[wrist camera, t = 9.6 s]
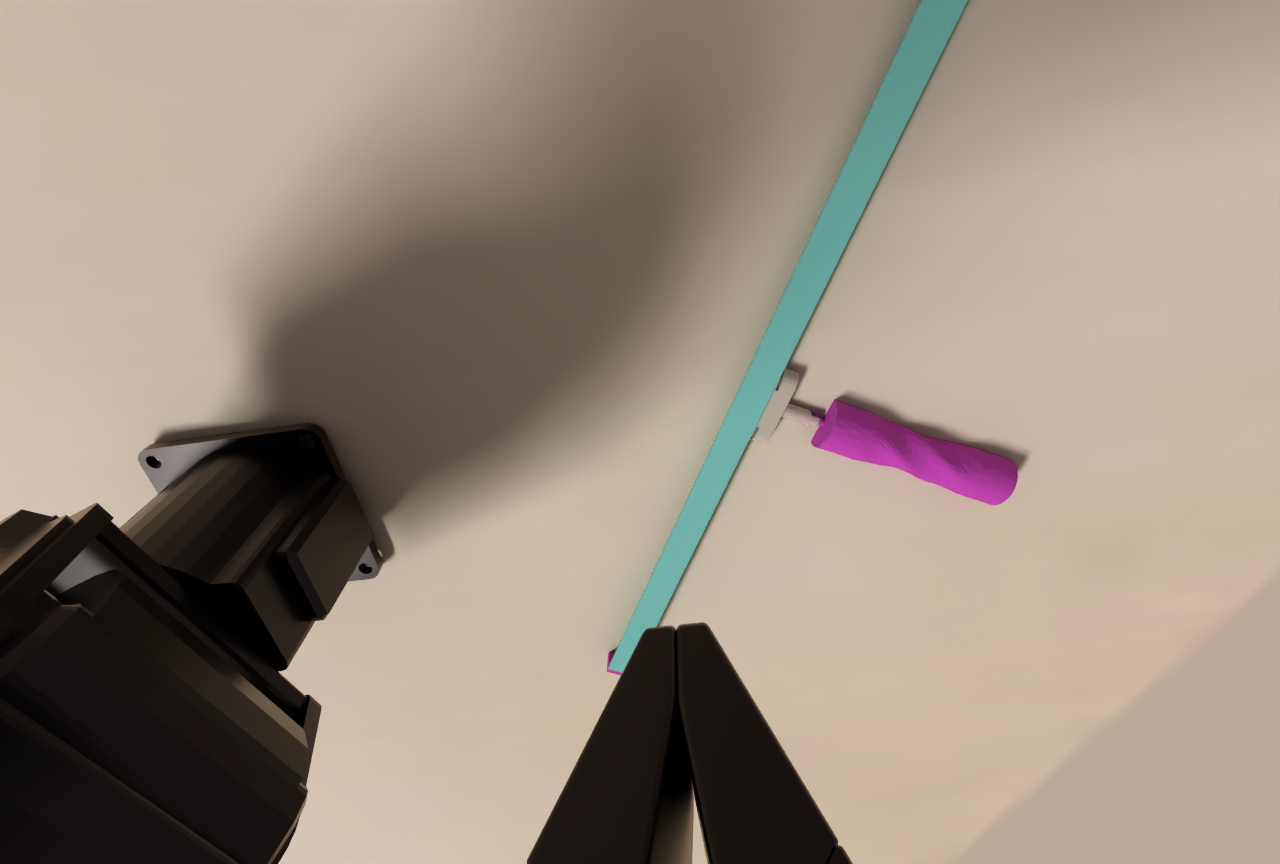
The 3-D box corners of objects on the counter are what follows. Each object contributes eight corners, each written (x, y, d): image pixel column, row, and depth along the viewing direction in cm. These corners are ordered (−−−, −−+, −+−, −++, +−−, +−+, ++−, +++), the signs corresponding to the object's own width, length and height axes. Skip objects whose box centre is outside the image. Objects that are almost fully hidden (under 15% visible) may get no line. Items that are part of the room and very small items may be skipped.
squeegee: (831, 735, 28) (606, 676, 26) (821, 701, 29) (608, 644, 28) (1417, -49, 15) (1043, -248, 14) (1347, -38, 16) (1004, -216, 15)
